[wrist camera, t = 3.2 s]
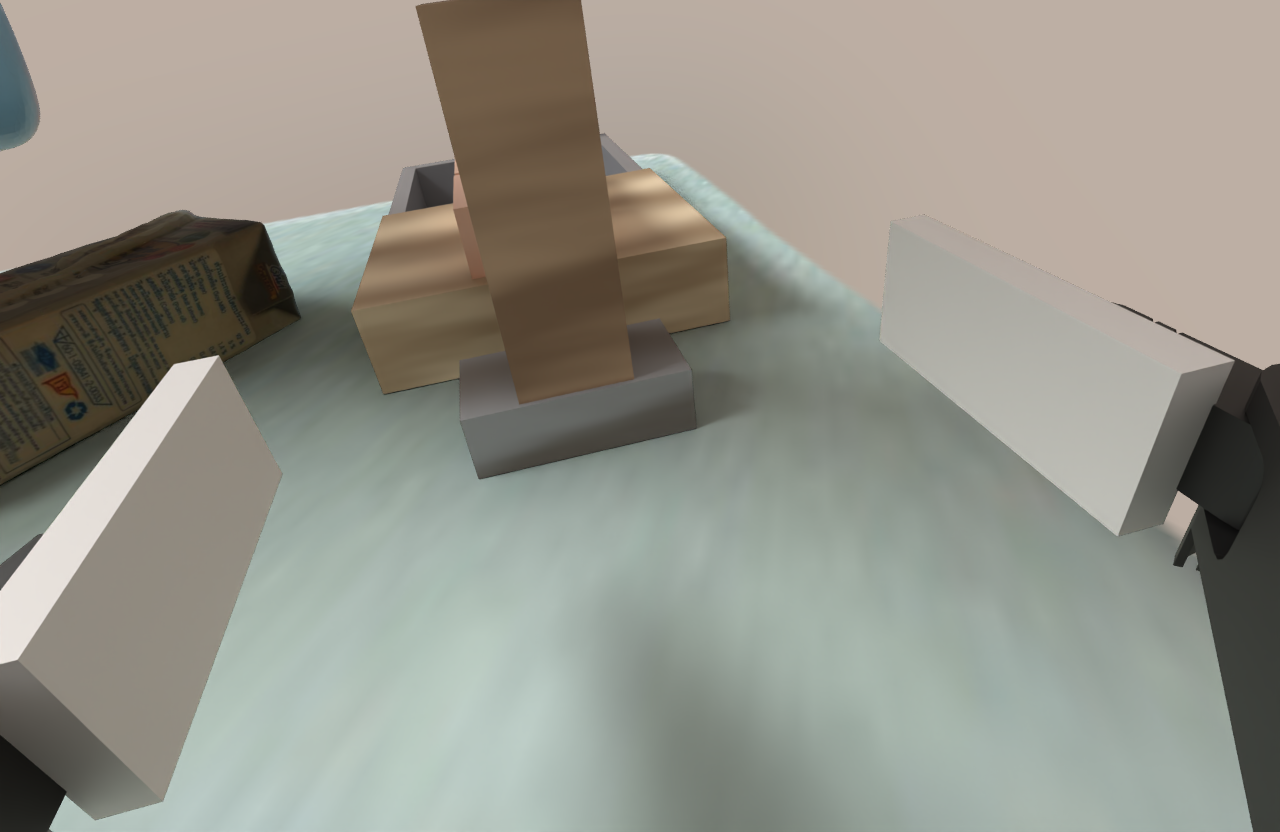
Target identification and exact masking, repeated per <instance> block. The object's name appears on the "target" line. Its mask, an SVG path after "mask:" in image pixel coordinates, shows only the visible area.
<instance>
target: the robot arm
mask: <svg viewBox="0 0 1280 832" xmlns="http://www.w3.org/2000/svg"><path fill="white" fill-rule="evenodd" d="M39 121H40V108H39V103H38V99H37V95H36V91H35V88H34V85H33V82H32V79H31V76H30V73H29V71H28V68H27V65H26V63H25V60H24V57H23V55H22V52H21V50H20V47H19V45H18V42H17V40H16V37H15V35H14V32H13V30H12V28H11V25H10V23H9V21H8V18H7V16H6V14H5V12H4V9H3V7H2V5H1V4H0V151H3V150H6V149H11V148H15V147H17V146H20V145H22V144H24V143H26V142H27V141H28V140H30V139H31V138H32V137H33V136H34V134H35V132H36V131H37V128H38V125H39ZM885 275H886V276H885V286H884V295H883V306H882V316H881V327H880V337H879V341H880V342H881V343H883V344H884V345H885V346H886V347H887V348H889V349H890V350H891V351H892V352H894V353H895V354H896V355H897V356H898V357H900V358H901V359H902V360H903V361H905V362H906V363H907V364H908V365H909V366H911V367H912V368H913V369H914V370H915V371H917V372H918V373H919V374H920V375H922V376H923V377H924V378H925V379H926V380H928V381H929V382H930V383H931V384H932V385H934V386H935V387H936V388H937V389H939V390H940V391H941V392H942V393H943V394H945V395H946V396H947V397H948V398H950V399H951V400H952V401H953V402H954V403H956V404H957V405H958V406H959V407H960V408H962V409H963V410H964V411H965V412H967V413H968V414H969V415H970V416H971V417H973V418H974V419H975V420H976V421H977V422H979V423H980V424H981V425H982V426H984V427H985V428H986V429H987V430H988V431H990V432H991V433H992V434H993V435H995V436H996V437H997V438H998V439H999V440H1001V441H1002V442H1003V443H1004V444H1005V445H1007V446H1008V447H1009V448H1010V449H1012V450H1013V451H1014V452H1015V453H1016V454H1018V455H1019V456H1020V457H1021V458H1022V459H1024V460H1025V461H1026V462H1027V463H1029V464H1030V465H1031V466H1032V467H1033V468H1035V469H1036V470H1037V471H1038V472H1040V473H1041V474H1042V475H1043V476H1044V477H1046V478H1047V479H1048V480H1049V481H1050V482H1052V483H1053V484H1054V485H1055V486H1057V487H1058V488H1059V489H1060V490H1061V491H1063V492H1064V493H1065V494H1066V495H1067V496H1069V497H1070V498H1071V499H1072V500H1074V501H1075V502H1076V503H1077V504H1078V505H1080V506H1081V507H1082V508H1083V509H1085V510H1086V511H1087V512H1088V513H1089V514H1091V515H1092V516H1093V517H1094V518H1095V519H1097V520H1098V521H1099V522H1100V523H1102V524H1103V525H1104V526H1105V527H1106V528H1108V529H1109V530H1110V531H1111V532H1112V533H1114V534H1115V535H1116V536H1117V537H1118V536H1122V535H1125V534H1129V533H1132V532H1136V531H1140V530H1143V529H1147V528H1150V527H1154V526H1158V525H1161V524H1163V523H1164V521H1165V519H1166V516H1167V514H1168V512H1169V510H1170V507H1171V505H1172V503H1173V501H1174V498H1175V496H1176V494H1177V491H1180V492H1181V493H1183V494H1184V495H1185V496H1187V497H1188V498H1190V499H1191V500H1193V501H1194V502H1196V503H1197V504H1198V508H1197V510H1196V512H1195V514H1194V516H1193V518H1192V520H1191V523H1190V525H1189V527H1188V529H1187V531H1186V533H1185V535H1184V537H1183V539H1182V542H1181V544H1180V546H1179V548H1178V550H1177V552H1176V554H1175V558H1174V563H1173V565H1175V566H1179V567H1183V565H1184V563H1185V561H1186V559H1187V557H1188V556H1189V555H1191V554H1193V553H1195V552H1196V555H1197V559H1198V566H1197V568H1196V570H1198V571H1200V574H1201V579H1202V584H1203V589H1204V594H1205V599H1206V603H1207V608H1208V613H1209V618H1210V623H1211V628H1212V633H1213V638H1214V642H1215V647H1216V652H1217V657H1218V662H1219V667H1220V672H1221V677H1222V681H1223V686H1224V691H1225V696H1226V701H1227V706H1228V711H1229V716H1230V721H1231V725H1232V730H1233V735H1234V740H1235V745H1236V750H1237V755H1238V760H1239V764H1240V769H1241V774H1242V779H1243V784H1244V789H1245V794H1246V799H1247V803H1248V808H1249V813H1250V818H1251V823H1252V828H1253V832H1280V364H1276V365H1271V366H1270V367H1268V368H1266V369H1265V370H1261V369H1259V368H1257V367H1255V366H1253V365H1250V364H1248V363H1246V362H1244V361H1242V360H1240V359H1238V358H1236V357H1233V356H1231V355H1229V354H1227V353H1225V352H1223V351H1220V350H1218V349H1216V348H1214V347H1212V346H1210V345H1208V344H1206V343H1203V342H1201V341H1199V340H1197V339H1195V338H1192V337H1191V336H1188V335H1186V334H1184V333H1179V334H1177V332H1176V329H1173V328H1171V327H1169V326H1167V325H1165V324H1163V323H1161V322H1155V323H1154V322H1153V319H1152V318H1150V317H1148V316H1146V315H1144V314H1141V313H1139V312H1137V311H1135V310H1133V309H1131V308H1128V307H1126V306H1124V305H1120V304H1116V303H1112V302H1109V301H1107V300H1105V299H1103V298H1101V297H1099V296H1097V295H1095V294H1093V293H1090V292H1088V291H1086V290H1084V289H1082V288H1080V287H1078V286H1075V285H1073V284H1071V283H1069V282H1067V281H1065V280H1063V279H1060V278H1059V277H1056V276H1054V275H1052V274H1050V273H1048V272H1046V271H1044V270H1042V269H1040V268H1037V267H1035V266H1033V265H1031V264H1029V263H1026V262H1025V261H1023V260H1020V259H1018V258H1016V257H1014V256H1012V255H1010V254H1008V253H1005V252H1004V251H1001V250H999V249H997V248H995V247H993V246H991V245H989V244H987V243H984V242H982V241H980V240H978V239H976V238H974V237H971V236H969V235H967V234H965V233H963V232H961V231H959V230H957V229H955V228H953V227H950V226H948V225H946V224H944V223H942V222H940V221H938V220H936V219H933V218H931V217H929V216H927V215H925V214H924V215H919V216H914V217H910V218H904V219H900V220H894V221H891V222H890V233H889V243H888V253H887V264H886V274H885ZM281 477H282V472H281V470H280V469H279V467H278V465H277V463H276V461H275V459H274V457H273V455H272V454H271V452H270V450H269V448H268V446H267V444H266V442H265V441H264V439H263V437H262V435H261V433H260V431H259V429H258V427H257V426H256V424H255V422H254V420H253V418H252V416H251V414H250V413H249V411H248V409H247V407H246V405H245V403H244V401H243V399H242V398H241V396H240V394H239V392H238V390H237V388H236V386H235V384H234V383H233V381H232V379H231V377H230V375H229V373H228V371H227V370H226V368H225V366H224V364H223V362H222V360H221V358H220V356H219V355H218V356H213V357H208V358H203V359H198V360H193V361H188V362H183V363H178V364H174V365H173V366H172V367H171V369H170V370H169V371H168V373H167V374H166V375H165V376H164V378H163V379H162V380H161V382H160V383H159V384H158V386H157V387H156V388H155V390H154V391H153V392H152V393H151V395H150V396H149V397H148V399H147V400H146V401H145V403H144V404H143V405H142V407H141V408H140V409H139V410H138V412H137V413H136V414H135V416H134V417H133V418H132V420H131V421H130V422H129V423H128V425H127V426H126V427H125V429H124V430H123V431H122V433H121V434H120V435H119V437H118V438H117V439H116V440H115V442H114V443H113V444H112V446H111V447H110V448H109V450H108V451H107V452H106V453H105V455H104V456H103V457H102V459H101V460H100V461H99V463H98V464H97V465H96V467H95V468H94V469H93V470H92V472H91V473H90V474H89V476H88V477H87V478H86V480H85V481H84V482H83V483H82V485H81V486H80V487H79V489H78V490H77V491H76V493H75V494H74V495H73V497H72V498H71V499H70V500H69V502H68V503H67V504H66V506H65V507H64V508H63V510H62V511H61V512H60V513H59V515H58V516H57V517H56V519H55V520H54V521H53V523H52V524H51V525H50V527H49V528H48V529H47V530H46V532H45V533H44V534H39V535H37V536H36V537H35V538H33V539H32V540H31V541H30V542H28V543H27V544H26V545H25V546H23V547H22V548H21V549H20V550H18V551H17V552H16V553H15V554H13V555H12V556H11V557H10V558H8V559H7V560H6V561H5V562H4V563H2V564H1V565H0V832H52V831H51V830H50V829H49V827H50V825H51V823H52V821H53V819H54V817H55V815H56V813H57V811H58V809H59V807H60V805H61V803H62V801H63V799H64V797H65V795H66V796H67V797H68V798H69V799H71V800H72V801H73V802H74V803H75V804H76V805H78V806H79V807H80V808H81V809H82V810H84V811H85V812H86V813H87V814H88V815H89V816H91V817H92V818H93V819H94V820H98V819H102V818H105V817H109V816H112V815H116V814H120V813H123V812H127V811H130V810H134V809H138V808H141V807H145V806H148V805H152V804H156V803H159V802H163V800H164V798H165V795H166V792H167V789H168V787H169V784H170V781H171V778H172V776H173V773H174V770H175V767H176V765H177V762H178V759H179V756H180V754H181V751H182V748H183V745H184V743H185V740H186V737H187V734H188V732H189V729H190V726H191V724H192V721H193V718H194V715H195V713H196V710H197V707H198V704H199V702H200V699H201V696H202V693H203V691H204V688H205V685H206V682H207V680H208V677H209V674H210V671H211V669H212V666H213V663H214V660H215V658H216V655H217V652H218V650H219V647H220V644H221V641H222V639H223V636H224V633H225V630H226V628H227V625H228V622H229V619H230V617H231V614H232V611H233V608H234V606H235V603H236V600H237V597H238V595H239V592H240V589H241V586H242V584H243V581H244V578H245V576H246V573H247V570H248V567H249V565H250V562H251V559H252V556H253V554H254V551H255V548H256V545H257V543H258V540H259V537H260V534H261V532H262V529H263V526H264V523H265V521H266V518H267V515H268V512H269V510H270V507H271V504H272V502H273V499H274V496H275V493H276V491H277V488H278V485H279V482H280V480H281Z"/></svg>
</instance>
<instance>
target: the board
mask: <svg viewBox="0 0 1280 832" xmlns="http://www.w3.org/2000/svg"><path fill="white" fill-rule="evenodd" d="M606 182H607V189H608V196H609V203H610V210H611V217H612V224H613V232H614V239H615V246H616V253H617V260H618V267H619V274H620V281H621V288H622V295H623V303H624V310H625V317H626V324H627V325H630V324H635V323H640V322H644V321H649V320H654V319H659V318H660V320H661V321H662V323H663V324H664V326H665V328H666V329H667V331H668V333H673V332H678V331H683V330H687V329H692V328H697V327H701V326H706V325H711V324H716V323H720V322H725V321H730V311H729V288H728V266H727V243H726V237H725V236H724V235H723V234H722V233H721V232H720V231H718V230H717V229H716V228H715V227H714V226H713V225H712V224H711V223H710V222H709V221H707V220H706V219H705V218H704V217H703V216H702V215H701V214H700V213H699V212H698V211H696V210H695V209H694V208H693V207H692V206H691V205H690V204H689V203H688V202H686V201H685V200H684V199H683V198H682V197H681V196H680V195H679V194H678V193H677V192H675V191H674V190H673V189H672V188H671V187H670V186H669V185H668V184H667V183H666V182H664V181H663V180H662V179H661V178H660V177H659V176H658V175H657V174H656V173H655V172H653V171H652V170H651V169H650V168H647V169H642V170H636V171H631V172H625V173H620V174H614V175H608V176H606ZM351 312H352V315H353V317H354V320H355V322H356V325H357V328H358V330H359V333H360V335H361V338H362V340H363V343H364V345H365V348H366V351H367V353H368V356H369V358H370V361H371V363H372V366H373V368H374V371H375V373H376V376H377V379H378V381H379V384H380V386H381V389H382V391H383V394H387V393H391V392H396V391H401V390H406V389H410V388H415V387H420V386H424V385H429V384H434V383H438V382H443V381H448V380H453V379H457V378H460V372H459V360H463V359H468V358H473V357H478V356H482V355H487V354H492V353H497V352H502V351H505V348H504V344H503V340H502V336H501V332H500V329H499V325H498V321H497V317H496V313H495V309H494V306H493V302H492V298H491V294H490V290H489V286H488V283H487V279H486V277H482V278H477V279H472V277H471V273H470V270H469V266H468V262H467V259H466V255H465V251H464V248H463V244H462V240H461V237H460V233H459V229H458V226H457V222H456V218H455V215H454V211H453V203H452V204H447V205H441V206H436V207H430V208H425V209H419V210H413V211H408V212H402V213H397V214H391V215H386V216H383V217H382V220H381V223H380V226H379V229H378V232H377V235H376V238H375V241H374V244H373V247H372V250H371V253H370V256H369V259H368V262H367V265H366V268H365V271H364V274H363V277H362V280H361V283H360V286H359V289H358V292H357V295H356V298H355V301H354V304H353V307H352V310H351Z"/></svg>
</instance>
